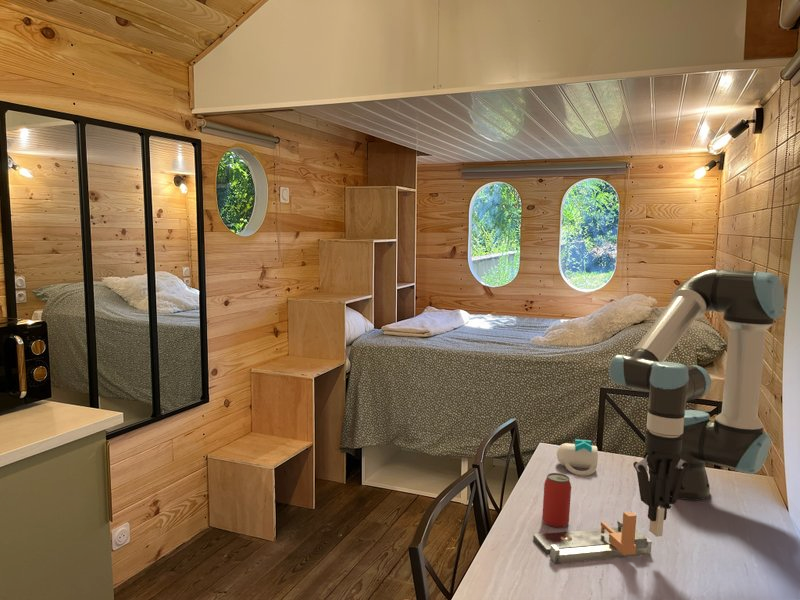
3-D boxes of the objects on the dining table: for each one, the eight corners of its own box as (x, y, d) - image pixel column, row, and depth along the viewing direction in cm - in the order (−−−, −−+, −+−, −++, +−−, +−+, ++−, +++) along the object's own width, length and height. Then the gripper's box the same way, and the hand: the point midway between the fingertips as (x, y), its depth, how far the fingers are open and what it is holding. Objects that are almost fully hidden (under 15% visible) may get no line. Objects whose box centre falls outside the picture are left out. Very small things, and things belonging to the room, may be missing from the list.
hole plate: (622, 531, 152) (623, 526, 152) (639, 545, 145) (640, 540, 145) (533, 539, 146) (533, 534, 146) (546, 554, 140) (546, 549, 140)
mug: (557, 433, 195) (596, 436, 193) (555, 454, 200) (593, 457, 197) (559, 459, 185) (600, 463, 183) (556, 481, 190) (597, 485, 187)
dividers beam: (628, 536, 149) (630, 519, 149) (651, 555, 141) (652, 537, 140) (537, 544, 144) (538, 527, 144) (555, 564, 135) (556, 546, 135)
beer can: (569, 530, 152) (572, 483, 150) (542, 526, 153) (545, 480, 152) (567, 518, 158) (570, 473, 157) (541, 515, 159) (544, 470, 158)
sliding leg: (607, 531, 148) (609, 493, 147) (635, 556, 137) (638, 515, 136) (595, 532, 147) (598, 494, 146) (623, 557, 136) (626, 516, 135)
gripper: (678, 426, 141) (670, 523, 143) (628, 427, 138) (620, 527, 141) (701, 436, 134) (691, 539, 136) (648, 439, 131) (640, 544, 133)
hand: (655, 533), depth 138 cm, fingers closed
